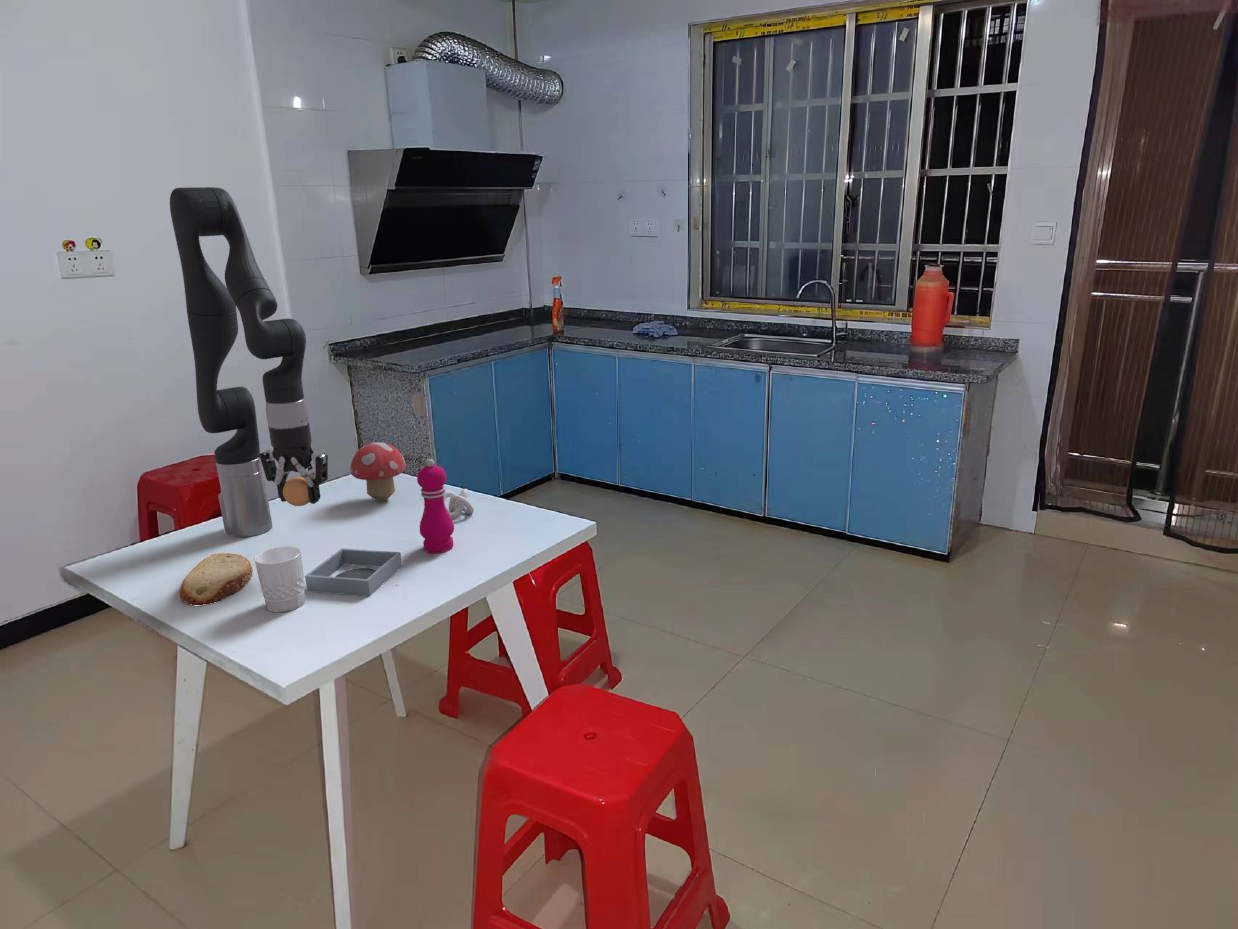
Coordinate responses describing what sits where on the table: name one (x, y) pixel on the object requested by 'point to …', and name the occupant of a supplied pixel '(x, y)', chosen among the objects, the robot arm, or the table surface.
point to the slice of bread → (215, 579)
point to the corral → (353, 586)
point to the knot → (458, 503)
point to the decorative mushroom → (378, 468)
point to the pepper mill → (434, 510)
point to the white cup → (281, 578)
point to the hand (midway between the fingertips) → (300, 501)
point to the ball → (296, 491)
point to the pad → (357, 573)
